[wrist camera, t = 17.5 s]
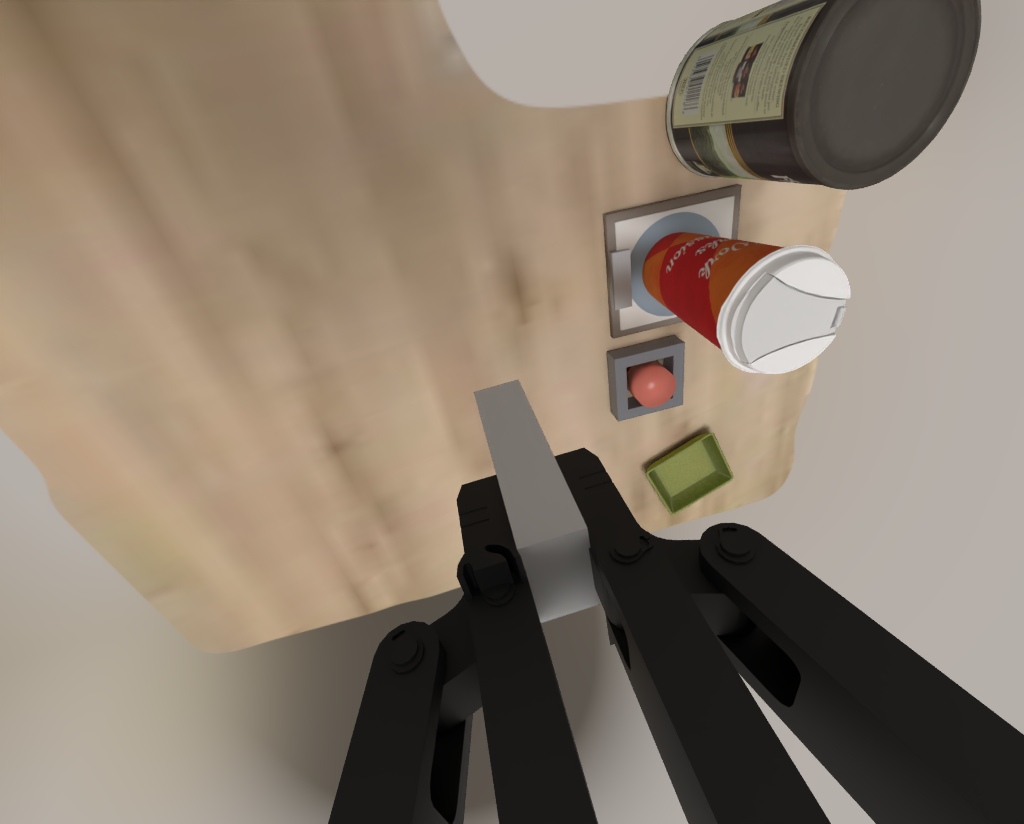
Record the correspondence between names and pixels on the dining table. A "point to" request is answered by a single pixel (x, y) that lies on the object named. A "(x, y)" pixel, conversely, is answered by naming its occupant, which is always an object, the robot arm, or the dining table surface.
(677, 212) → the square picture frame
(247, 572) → the dining table surface
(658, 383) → the button
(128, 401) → the dining table surface
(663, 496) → the green rectangular tray
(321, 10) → the dining table surface
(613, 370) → the button housing
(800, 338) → the coffee cup
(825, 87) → the coffee can
